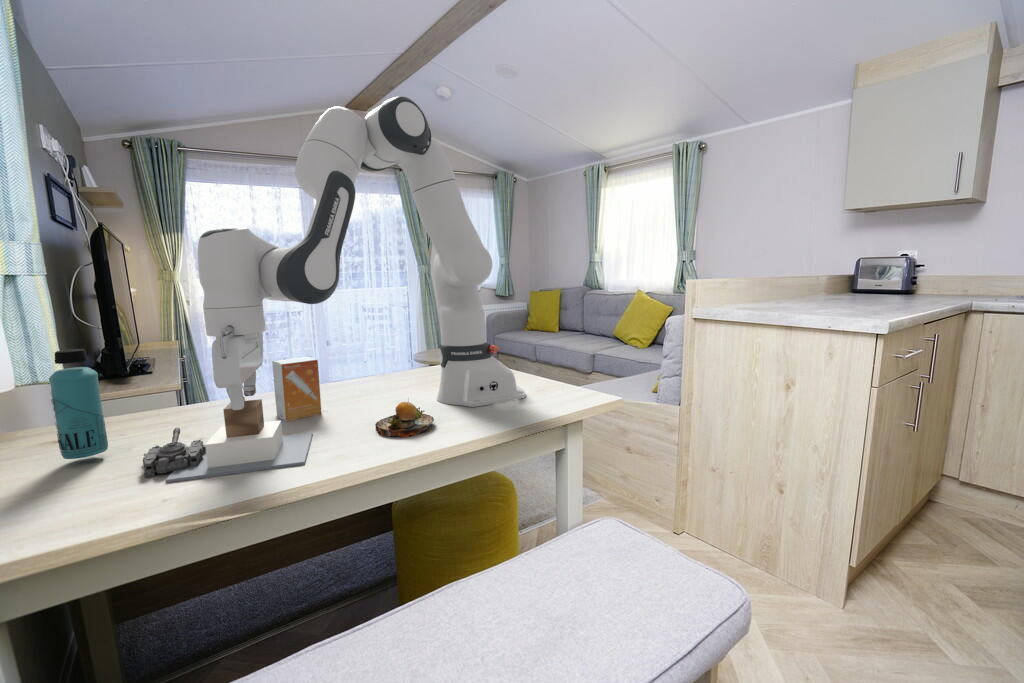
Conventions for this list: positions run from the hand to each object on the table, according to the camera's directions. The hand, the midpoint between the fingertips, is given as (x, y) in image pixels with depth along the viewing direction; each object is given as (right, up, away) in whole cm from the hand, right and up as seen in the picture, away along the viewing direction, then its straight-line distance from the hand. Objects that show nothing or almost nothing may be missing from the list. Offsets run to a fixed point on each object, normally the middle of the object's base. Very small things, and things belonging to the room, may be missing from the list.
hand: (244, 401), depth 83 cm
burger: (+25, -8, +15) cm, 30 cm away
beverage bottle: (-28, -11, +1) cm, 30 cm away
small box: (-2, -7, +26) cm, 27 cm away
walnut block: (0, -5, +1) cm, 6 cm away
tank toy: (-11, -11, -1) cm, 16 cm away
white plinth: (0, -10, +1) cm, 10 cm away
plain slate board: (0, -10, +1) cm, 10 cm away
